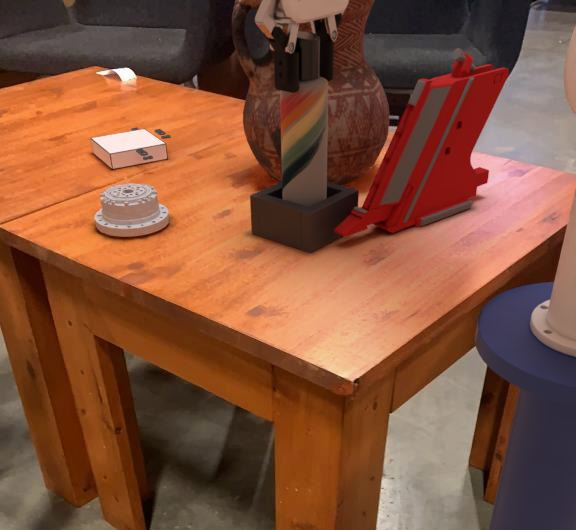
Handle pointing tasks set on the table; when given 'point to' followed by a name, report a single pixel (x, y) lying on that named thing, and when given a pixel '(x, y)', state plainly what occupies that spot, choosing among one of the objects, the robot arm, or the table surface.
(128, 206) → the mechanical component
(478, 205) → the table surface
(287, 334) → the table surface
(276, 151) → the jug
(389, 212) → the tool
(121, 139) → the container
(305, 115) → the lotion bottle
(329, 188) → the holder
